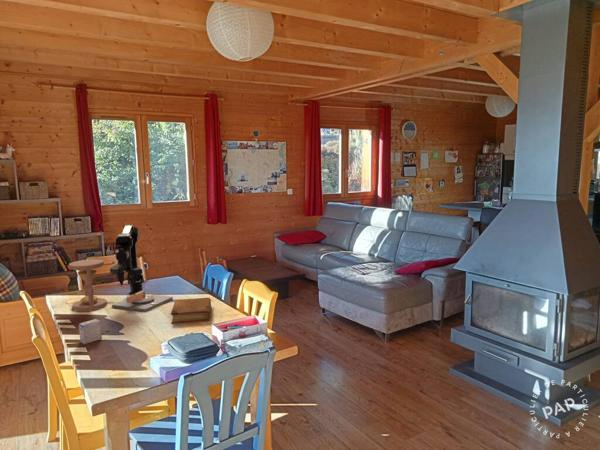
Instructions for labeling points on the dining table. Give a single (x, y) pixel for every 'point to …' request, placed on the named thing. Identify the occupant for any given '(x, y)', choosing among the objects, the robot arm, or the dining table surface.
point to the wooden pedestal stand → (88, 285)
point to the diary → (191, 310)
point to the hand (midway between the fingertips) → (127, 285)
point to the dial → (140, 298)
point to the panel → (143, 304)
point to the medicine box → (90, 331)
